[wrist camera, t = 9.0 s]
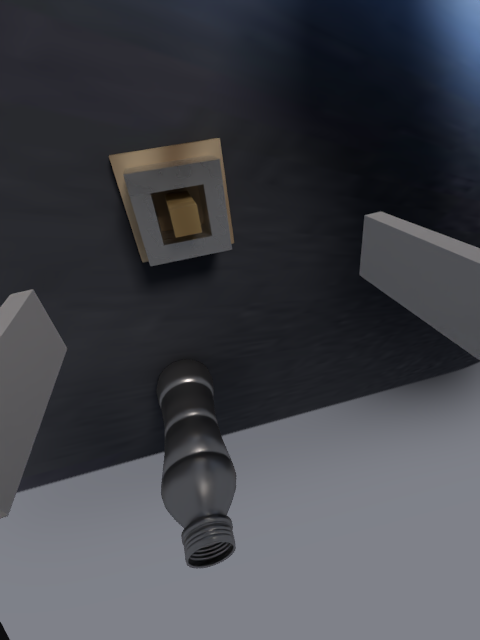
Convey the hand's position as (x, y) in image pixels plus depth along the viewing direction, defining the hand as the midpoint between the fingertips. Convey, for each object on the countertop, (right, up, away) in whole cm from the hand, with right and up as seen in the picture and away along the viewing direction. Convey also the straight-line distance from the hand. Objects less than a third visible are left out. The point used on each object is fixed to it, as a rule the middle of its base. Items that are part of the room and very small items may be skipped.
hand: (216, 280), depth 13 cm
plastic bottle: (-6, -8, +26) cm, 28 cm away
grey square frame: (-4, +9, +15) cm, 18 cm away
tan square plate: (-5, +9, +16) cm, 19 cm away
